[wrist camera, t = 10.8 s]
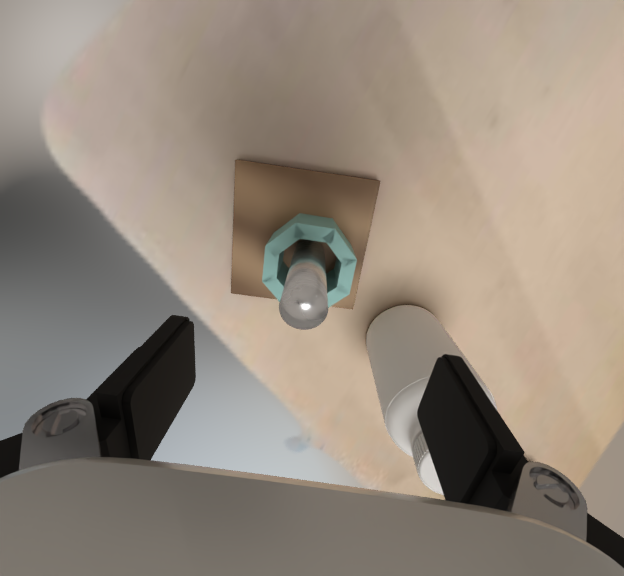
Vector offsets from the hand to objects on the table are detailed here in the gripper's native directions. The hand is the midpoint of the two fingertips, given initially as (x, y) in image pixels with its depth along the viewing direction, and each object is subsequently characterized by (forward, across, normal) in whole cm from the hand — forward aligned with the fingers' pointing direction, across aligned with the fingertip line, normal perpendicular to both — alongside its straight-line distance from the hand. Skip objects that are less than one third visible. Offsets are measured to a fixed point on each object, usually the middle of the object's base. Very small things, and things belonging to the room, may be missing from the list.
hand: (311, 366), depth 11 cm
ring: (+17, +1, +1) cm, 17 cm away
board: (+18, +2, 0) cm, 18 cm away
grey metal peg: (+17, +1, +1) cm, 17 cm away
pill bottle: (+18, -10, +9) cm, 23 cm away
